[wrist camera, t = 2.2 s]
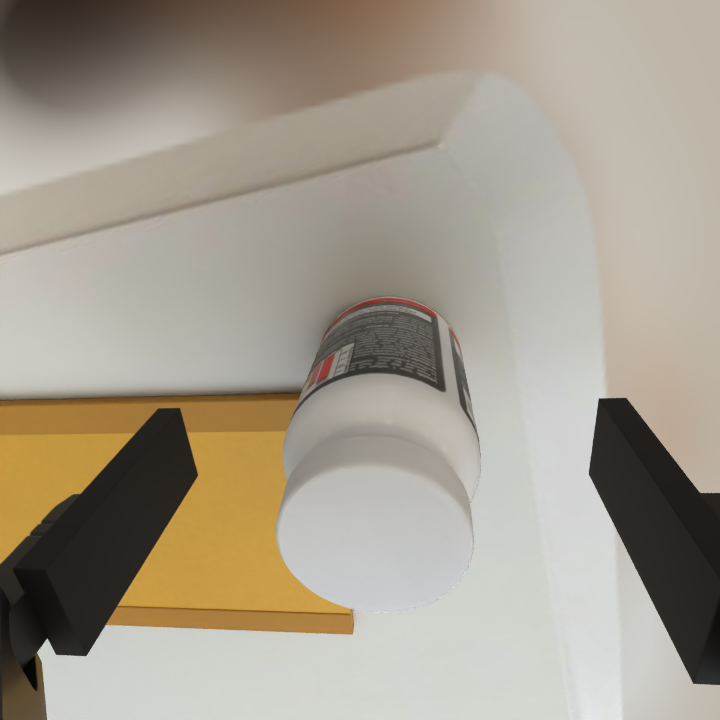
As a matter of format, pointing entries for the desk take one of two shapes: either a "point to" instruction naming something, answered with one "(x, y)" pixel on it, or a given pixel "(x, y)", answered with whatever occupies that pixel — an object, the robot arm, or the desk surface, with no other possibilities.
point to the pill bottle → (381, 462)
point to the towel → (194, 515)
